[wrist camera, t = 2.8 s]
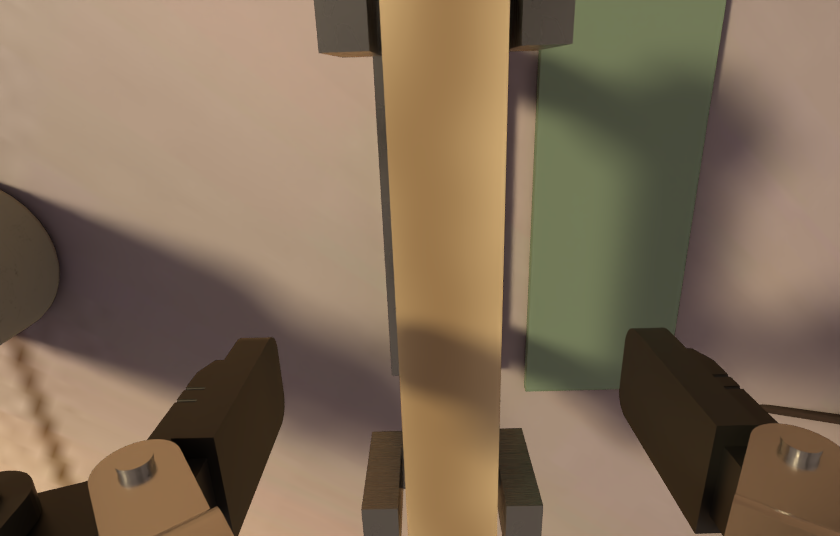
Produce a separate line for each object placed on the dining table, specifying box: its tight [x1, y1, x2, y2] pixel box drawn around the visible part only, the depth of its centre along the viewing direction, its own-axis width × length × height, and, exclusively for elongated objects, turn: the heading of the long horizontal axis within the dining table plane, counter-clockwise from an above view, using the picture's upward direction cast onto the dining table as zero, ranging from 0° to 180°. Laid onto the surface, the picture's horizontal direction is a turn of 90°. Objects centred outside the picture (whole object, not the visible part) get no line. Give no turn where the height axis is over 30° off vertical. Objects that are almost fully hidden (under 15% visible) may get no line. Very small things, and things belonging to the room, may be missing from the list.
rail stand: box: [314, 0, 576, 536], centre depth 22 cm, size 6×22×16 cm, turn 2°
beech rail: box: [379, 0, 510, 536], centre depth 16 cm, size 3×22×3 cm, turn 2°
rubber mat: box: [524, 0, 726, 392], centre depth 29 cm, size 9×26×1 cm, turn 2°
